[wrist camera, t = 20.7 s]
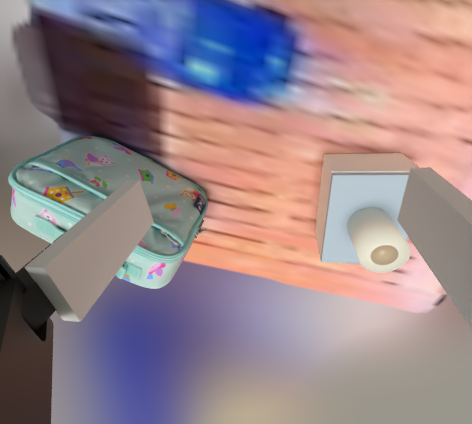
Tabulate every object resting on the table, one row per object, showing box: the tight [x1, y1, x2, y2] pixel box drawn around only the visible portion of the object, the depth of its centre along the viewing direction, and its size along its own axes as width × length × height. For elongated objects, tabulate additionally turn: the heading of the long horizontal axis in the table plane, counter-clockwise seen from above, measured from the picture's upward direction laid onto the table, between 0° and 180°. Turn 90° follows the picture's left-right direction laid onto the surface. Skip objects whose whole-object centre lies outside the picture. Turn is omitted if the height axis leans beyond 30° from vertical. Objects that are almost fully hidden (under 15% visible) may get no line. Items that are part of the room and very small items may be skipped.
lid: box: [321, 172, 409, 264], centre depth 39 cm, size 16×12×1 cm
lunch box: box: [8, 136, 208, 289], centre depth 42 cm, size 27×10×21 cm, turn 63°
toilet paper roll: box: [347, 208, 411, 273], centre depth 36 cm, size 6×6×7 cm
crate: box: [315, 153, 420, 259], centre depth 43 cm, size 16×12×8 cm
